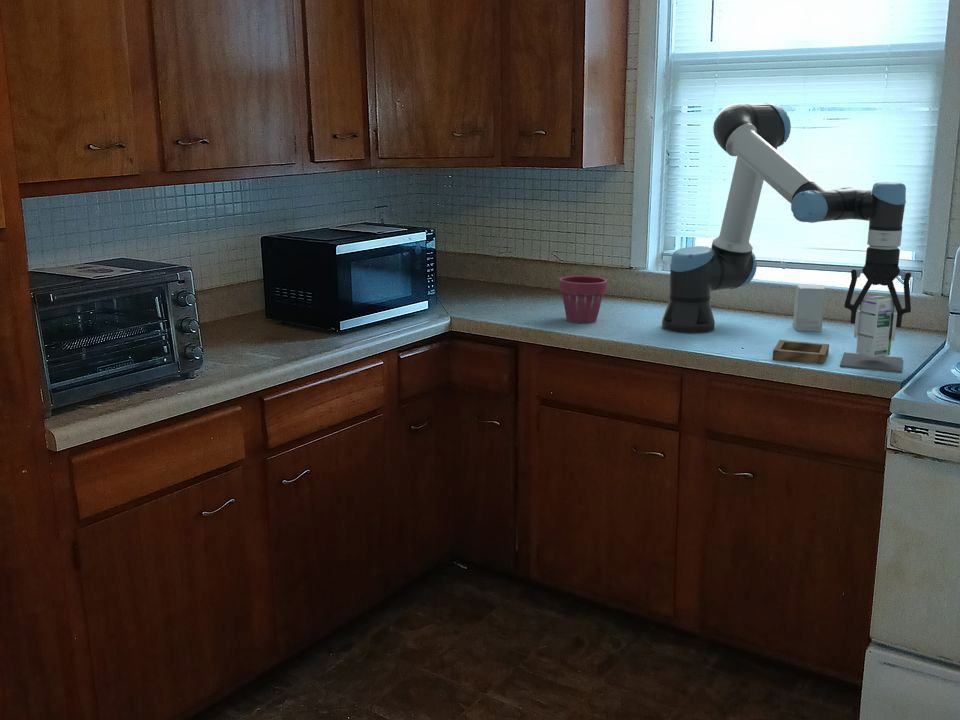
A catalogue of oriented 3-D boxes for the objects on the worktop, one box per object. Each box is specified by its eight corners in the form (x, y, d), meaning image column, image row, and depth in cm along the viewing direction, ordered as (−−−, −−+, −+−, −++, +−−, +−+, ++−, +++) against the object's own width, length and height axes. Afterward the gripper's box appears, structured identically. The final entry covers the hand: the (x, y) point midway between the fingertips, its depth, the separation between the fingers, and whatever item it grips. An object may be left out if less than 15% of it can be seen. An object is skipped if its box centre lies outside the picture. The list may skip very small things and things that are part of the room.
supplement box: (822, 332, 271) (826, 288, 268) (795, 331, 273) (798, 288, 269) (818, 326, 278) (822, 284, 275) (792, 325, 280) (795, 283, 276)
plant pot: (612, 318, 290) (613, 277, 287) (595, 327, 278) (596, 284, 275) (569, 314, 297) (570, 273, 294) (551, 322, 285) (551, 280, 282)
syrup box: (872, 358, 233) (878, 300, 229) (854, 352, 238) (860, 296, 234) (890, 355, 235) (896, 298, 231) (871, 350, 240) (877, 294, 236)
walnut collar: (772, 359, 241) (773, 350, 240) (778, 348, 252) (779, 339, 251) (824, 364, 236) (824, 354, 235) (828, 353, 247) (829, 344, 246)
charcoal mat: (839, 366, 234) (840, 364, 233) (843, 354, 246) (844, 352, 246) (901, 372, 228) (901, 370, 228) (902, 359, 240) (902, 357, 240)
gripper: (837, 246, 230) (828, 337, 236) (930, 251, 222) (919, 345, 228) (839, 243, 237) (831, 331, 243) (930, 247, 229) (919, 338, 234)
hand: (874, 337), depth 235 cm, fingers closed on syrup box, 8 cm apart
